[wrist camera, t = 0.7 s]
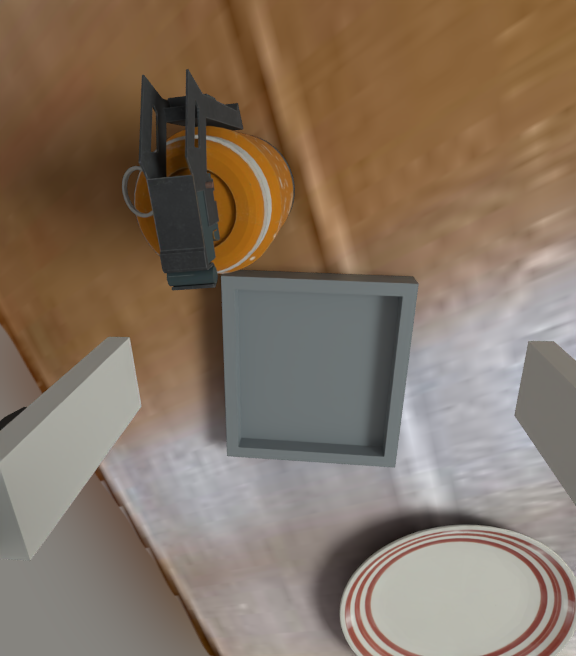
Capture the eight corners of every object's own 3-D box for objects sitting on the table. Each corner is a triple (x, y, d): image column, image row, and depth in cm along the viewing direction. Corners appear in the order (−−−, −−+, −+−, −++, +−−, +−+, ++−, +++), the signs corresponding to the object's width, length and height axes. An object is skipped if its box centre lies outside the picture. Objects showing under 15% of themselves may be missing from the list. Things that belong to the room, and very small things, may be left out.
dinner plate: (609, 530, 50) (627, 555, 47) (523, 685, 60) (533, 714, 57) (365, 485, 51) (368, 507, 48) (320, 646, 61) (319, 672, 58)
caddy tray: (226, 269, 43) (221, 275, 40) (413, 276, 42) (418, 283, 39) (231, 442, 50) (227, 456, 47) (391, 452, 49) (394, 467, 46)
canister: (203, 244, 42) (105, 314, 23) (183, 114, 38) (46, 74, 20) (299, 236, 41) (276, 303, 22) (288, 102, 37) (249, 48, 19)
